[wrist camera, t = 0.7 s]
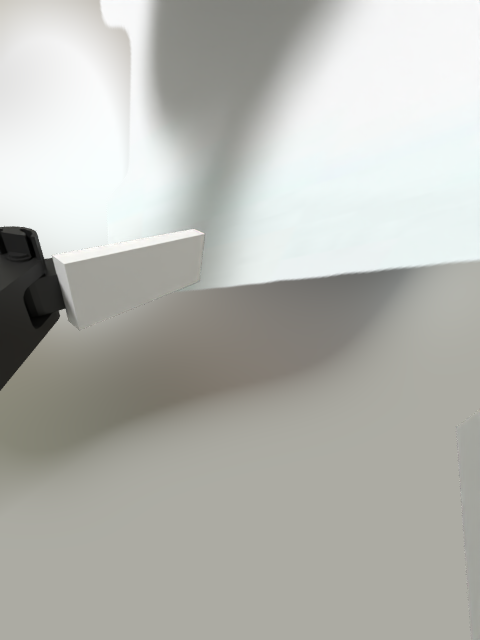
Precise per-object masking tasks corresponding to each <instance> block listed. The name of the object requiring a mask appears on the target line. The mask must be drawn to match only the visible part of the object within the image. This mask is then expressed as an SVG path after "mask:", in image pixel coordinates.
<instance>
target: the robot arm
mask: <svg viewBox="0 0 480 640" xmlns="http://www.w3.org/2000/svg"><path fill="white" fill-rule="evenodd" d="M204 238H205V234H204V233H202V232H200V231H198V230H195V229H190V230H185V231H179V232H174V233H168V234H163V235H158V236H152V237H147V238H141V239H136V240H130V241H125V242H120V243H114V244H109V245H103V246H98V247H93V248H87V249H81V250H77V251H71V252H65V253H60V254H54V255H52V258H50V259H44V257H43V253H42V250H41V246H40V243H39V239H38V235H37V233H36V231H34V230H32V229H29V228H25V227H0V390H1V389H2V388H3V387H4V386H5V384H6V383H7V381H9V379H10V378H11V377H12V376H13V374H14V373H15V372H16V371H17V370H18V368H19V367H20V366H21V365H22V364H23V362H24V361H25V360H26V359H27V357H28V356H29V355H30V354H31V352H32V351H33V350H34V349H35V348H36V346H37V345H38V344H39V343H40V341H41V340H42V339H43V338H44V337H45V335H46V334H47V333H48V331H49V330H50V329H51V328H52V327H53V326H54V324H55V323H56V322H57V321H58V319H59V317H60V314H59V310H62V309H66V312H67V316H68V320H69V322H70V323H72V324H73V325H74V326H75V327H76V328H77V329H78V330H82V329H85V328H87V327H89V326H92V325H94V324H97V323H99V322H102V321H104V320H107V319H109V318H111V317H114V316H116V315H119V314H121V313H124V312H126V311H128V310H131V309H133V308H136V307H138V306H141V305H143V304H146V303H148V302H150V301H153V300H155V299H158V298H160V297H163V296H165V295H168V294H170V293H173V292H175V291H178V290H180V289H182V288H185V287H187V286H190V285H192V284H195V283H197V282H199V281H200V272H201V264H202V255H203V246H204ZM456 434H457V448H458V462H459V476H460V489H461V503H462V518H463V531H464V547H465V560H466V573H467V574H466V575H467V589H468V601H469V615H470V616H469V617H470V631H471V640H480V409H479V410H478V411H476V412H475V413H474V414H473V415H471V416H470V417H469V418H467V419H466V420H465V421H463V422H462V423H461V424H460V425H458V426H457V427H456Z"/></svg>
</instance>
